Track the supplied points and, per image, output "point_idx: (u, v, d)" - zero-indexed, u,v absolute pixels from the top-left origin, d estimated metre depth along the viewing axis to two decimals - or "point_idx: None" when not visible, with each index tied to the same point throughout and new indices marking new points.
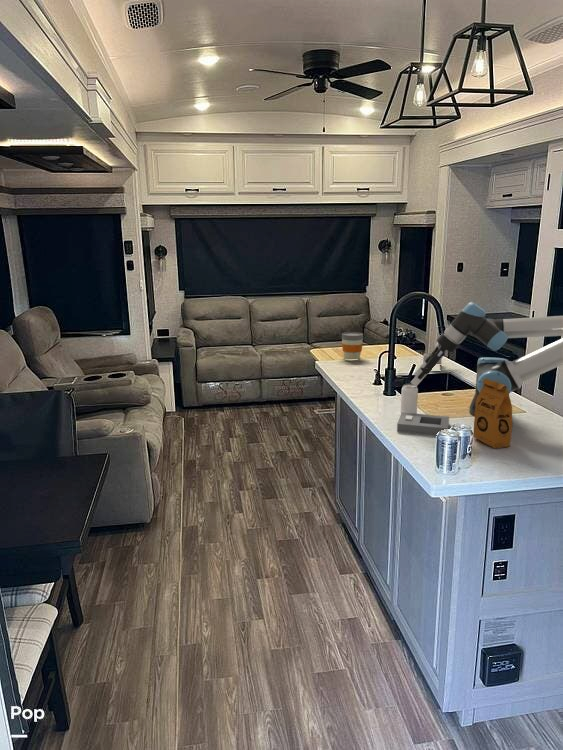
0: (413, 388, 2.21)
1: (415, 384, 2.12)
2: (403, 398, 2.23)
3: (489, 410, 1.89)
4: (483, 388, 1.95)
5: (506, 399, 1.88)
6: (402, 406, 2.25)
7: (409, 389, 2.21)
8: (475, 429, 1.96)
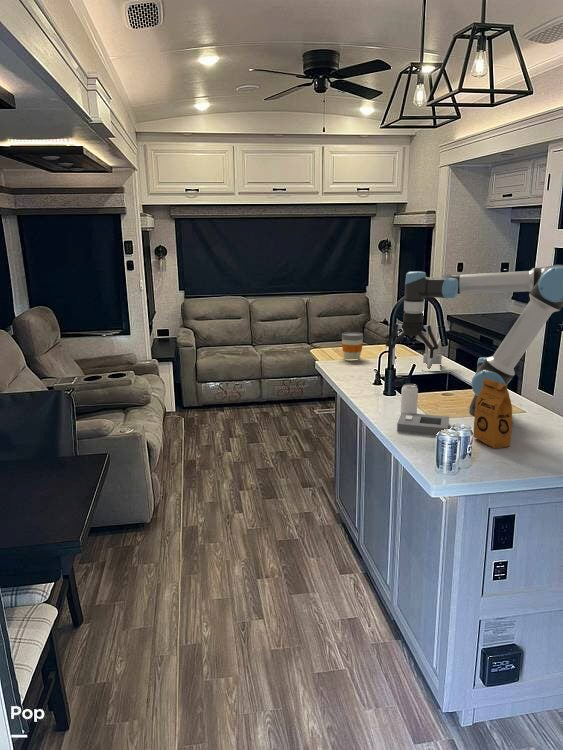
0: (413, 388, 2.21)
1: (392, 362, 2.23)
2: (403, 398, 2.23)
3: (489, 410, 1.89)
4: (483, 388, 1.95)
5: (506, 399, 1.88)
6: (402, 406, 2.25)
7: (409, 389, 2.21)
8: (475, 429, 1.96)
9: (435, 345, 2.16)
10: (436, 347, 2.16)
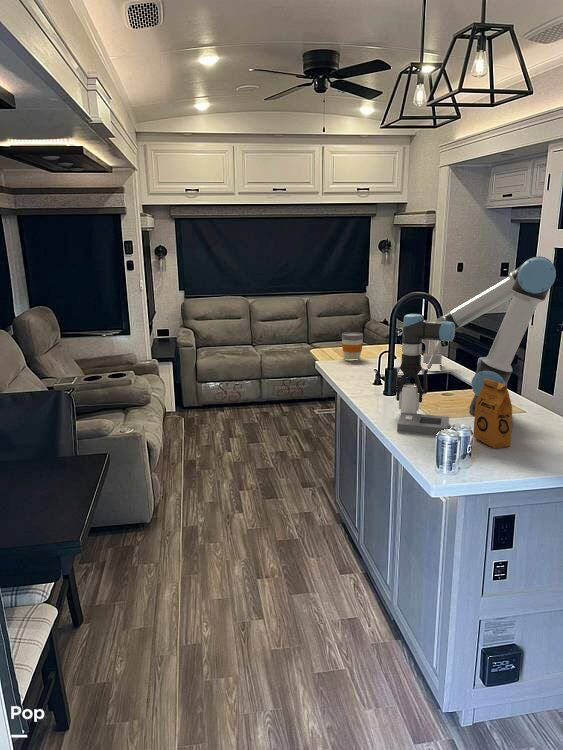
0: (413, 388, 2.21)
1: None
2: (403, 398, 2.23)
3: (489, 410, 1.89)
4: (483, 388, 1.95)
5: (506, 399, 1.88)
6: (402, 406, 2.25)
7: (409, 389, 2.21)
8: (475, 429, 1.96)
9: (425, 390, 2.21)
10: (425, 392, 2.21)
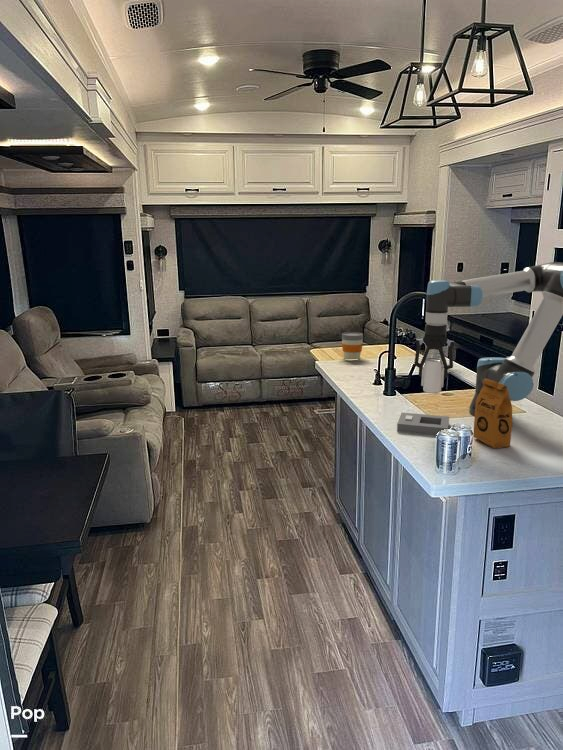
0: (438, 362, 2.01)
1: (421, 383, 2.06)
2: (426, 373, 2.03)
3: (489, 410, 1.89)
4: (483, 388, 1.95)
5: (506, 399, 1.88)
6: (425, 382, 2.04)
7: (433, 363, 2.01)
8: (475, 429, 1.96)
9: (451, 364, 2.01)
10: (451, 366, 2.01)
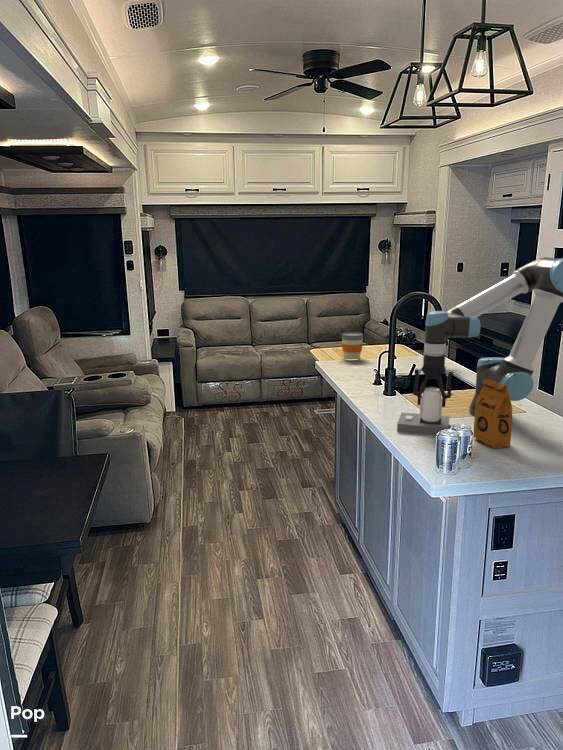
0: (436, 392, 2.04)
1: None
2: (425, 402, 2.06)
3: (489, 410, 1.89)
4: (483, 388, 1.95)
5: (506, 399, 1.88)
6: (423, 411, 2.07)
7: (432, 393, 2.04)
8: (475, 429, 1.96)
9: (449, 394, 2.03)
10: (449, 396, 2.04)
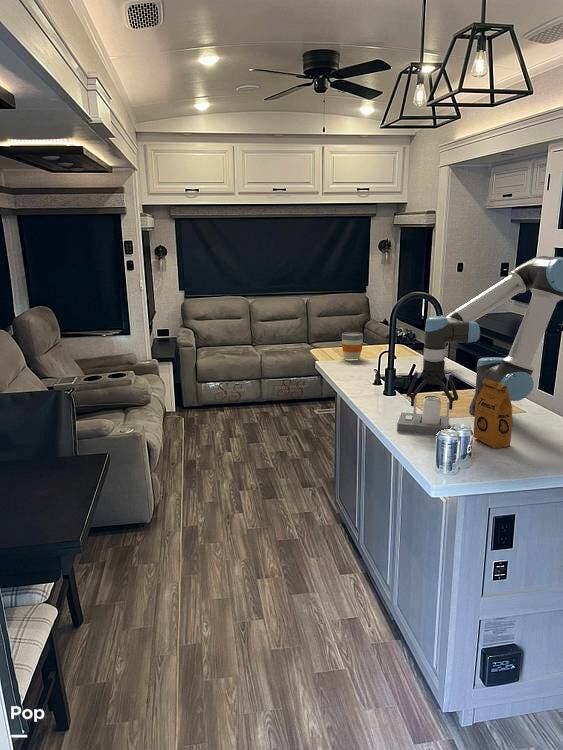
0: (436, 401, 2.04)
1: None
2: (425, 411, 2.07)
3: (489, 410, 1.89)
4: (483, 388, 1.95)
5: (506, 399, 1.88)
6: (423, 420, 2.08)
7: (432, 402, 2.04)
8: (475, 429, 1.96)
9: (455, 396, 2.03)
10: (456, 398, 2.03)
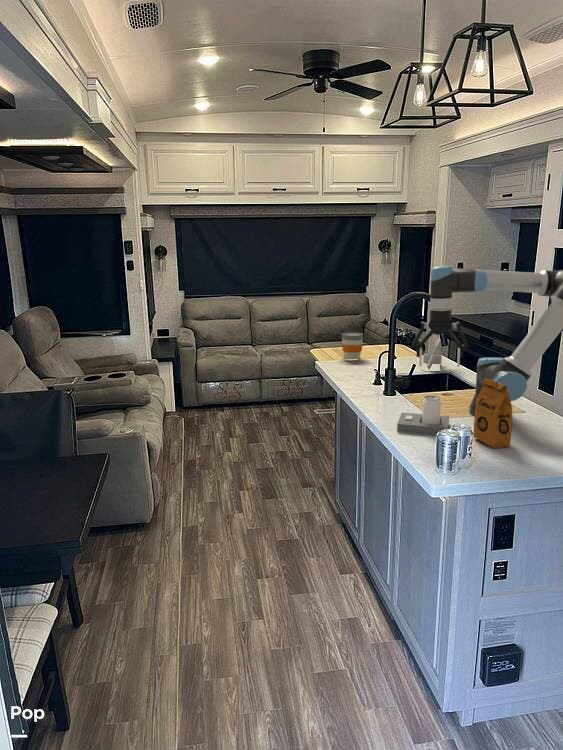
0: (436, 401, 2.04)
1: None
2: (425, 411, 2.07)
3: (489, 410, 1.89)
4: (483, 388, 1.95)
5: (506, 399, 1.88)
6: (423, 420, 2.08)
7: (431, 402, 2.04)
8: (475, 429, 1.96)
9: (465, 343, 2.03)
10: (466, 346, 2.03)
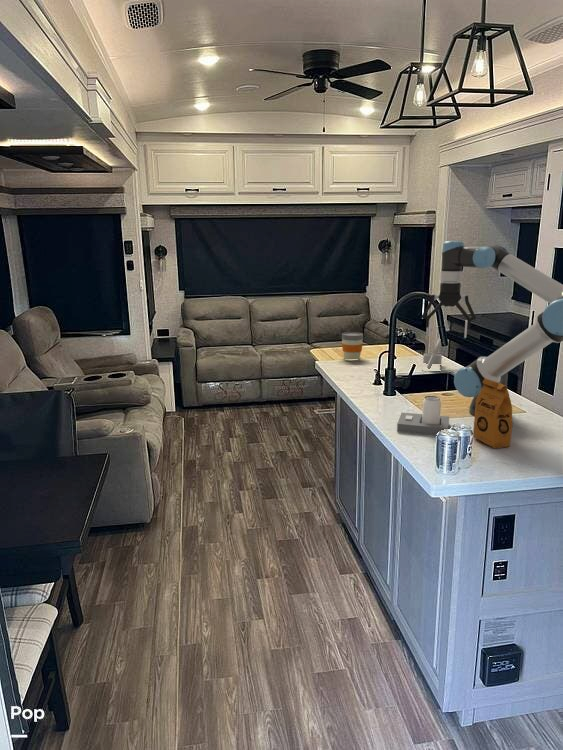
0: (436, 401, 2.04)
1: (428, 334, 2.21)
2: (425, 411, 2.07)
3: (489, 410, 1.89)
4: (483, 388, 1.95)
5: (506, 399, 1.88)
6: (423, 420, 2.08)
7: (431, 402, 2.04)
8: (475, 429, 1.96)
9: (473, 315, 2.13)
10: (474, 317, 2.13)
